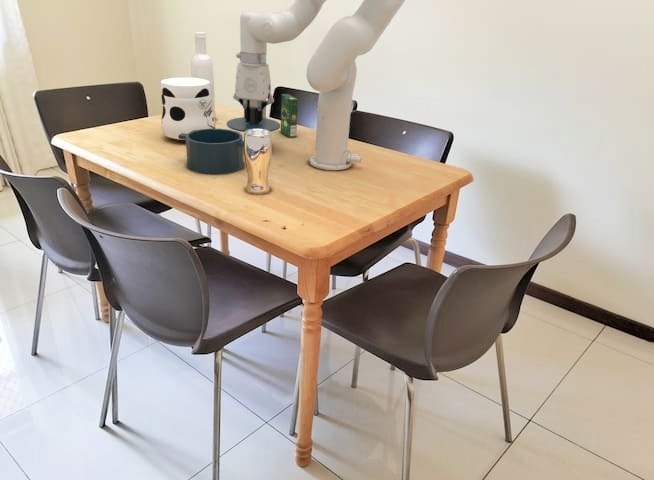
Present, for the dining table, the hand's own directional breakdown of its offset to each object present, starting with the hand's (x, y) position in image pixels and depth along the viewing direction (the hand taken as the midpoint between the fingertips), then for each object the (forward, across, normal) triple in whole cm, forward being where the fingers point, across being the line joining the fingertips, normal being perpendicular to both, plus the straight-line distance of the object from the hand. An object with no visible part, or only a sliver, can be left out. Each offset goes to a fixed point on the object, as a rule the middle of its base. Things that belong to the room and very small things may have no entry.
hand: (253, 121), depth 158 cm
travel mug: (+9, -10, +28) cm, 31 cm away
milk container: (+9, -24, +3) cm, 25 cm away
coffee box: (+9, +5, +21) cm, 23 cm away
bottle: (+9, -30, +28) cm, 42 cm away
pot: (+9, -5, -19) cm, 21 cm away
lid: (+1, 0, 0) cm, 1 cm away
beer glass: (+9, +13, -33) cm, 37 cm away
